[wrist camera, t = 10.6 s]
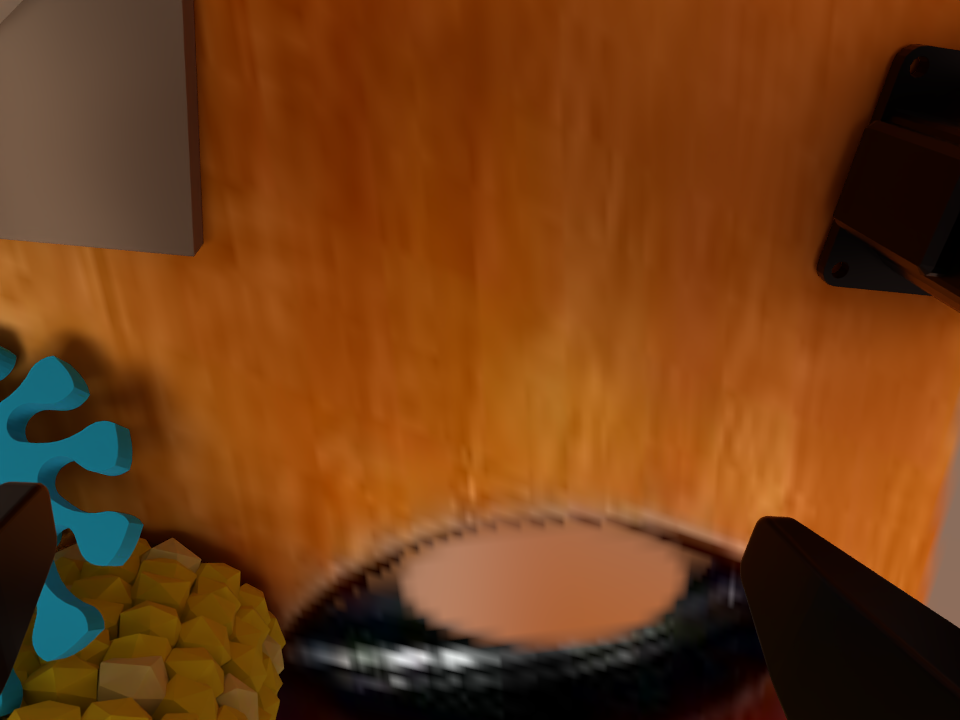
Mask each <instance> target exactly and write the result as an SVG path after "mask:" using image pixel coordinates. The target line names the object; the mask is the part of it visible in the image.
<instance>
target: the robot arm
mask: <svg viewBox="0 0 960 720" xmlns="http://www.w3.org/2000/svg"><path fill="white" fill-rule="evenodd" d="M918 57H919V60H920V63H919V67H918V69H917V70H916V72H914V73H913V74H912V75H911V74H910V65H911V64H912V62H913V61H914V60H915V59H916V58H918ZM833 216H834V220H833V223H832V226H831V229H830V231H829V234H828V237H827V239H826V242H825V245H824V247H823V250H822V253H821V255H820V258H819V261H818V263H817V269H816V270H817V274H818V276H819V277H820V278H821V279H822V280H823V281H825V282H826V283H827V284H829V285H832V286H837V287H847V288H858V289H868V290H878V291H888V292H898V293H908V294H918V295H928V296H934V297H935V298H937V299H939V300H940V301H942V302H943V303H945V304H947V305H948V306H950V307H951V308H953V309H955V310H956V311H958V312H959V313H960V51H959V50H953V49H946V48H940V47H933V46H927V45H920V44H913V45H909V46H907V47H905V48H903V49H902V50H901V51H900V52H899V53H898V54H897V55H896V57H895V59H894V60H893V62H892V65H891V68H890V70H889V73H888V76H887V78H886V81H885V84H884V86H883V89H882V92H881V94H880V97H879V100H878V102H877V105H876V108H875V111H874V113H873V116H872V119H871V121H870V124H869V126H868V127H867V128H866V129H865V130H864V133H863V136H862V138H861V141H860V144H859V146H858V149H857V152H856V154H855V157H854V160H853V162H852V165H851V168H850V171H849V173H848V176H847V179H846V181H845V184H844V187H843V189H842V192H841V195H840V197H839V200H838V203H837V206H836V208H835V211H834V214H833ZM839 262H842V264H841V267H840V269H839V270H838V271H836V272H835V273H832V269H833V267H834V266H835V265H836V264H837V263H839ZM56 547H57V534H56V528H55V522H54V516H53V511H52V505H51V499H50V494H49V491H48V489H47V487H46V486H45V485H43V484H41V483H32V482H6V483H3V484H1V485H0V695H1V693H2V691H3V689H4V687H5V685H6V683H7V680H8V678H9V676H10V674H11V671H12V669H13V666H14V664H15V661H16V659H17V656H18V654H19V651H20V648H21V645H22V643H23V640H24V637H25V635H26V632H27V629H28V627H29V624H30V621H31V619H32V616H33V613H34V610H35V608H36V605H37V602H38V600H39V597H40V594H41V592H42V589H43V586H44V584H45V581H46V578H47V575H48V573H49V570H50V567H51V565H52V562H53V559H54V556H55V552H56ZM740 575H741V580H742V584H743V587H744V591H745V594H746V597H747V601H748V604H749V607H750V611H751V614H752V617H753V621H754V624H755V627H756V631H757V634H758V638H759V641H760V644H761V648H762V651H763V654H764V658H765V661H766V664H767V668H768V671H769V674H770V677H771V680H772V683H773V685H774V688H775V690H776V693H777V696H778V698H779V701H780V703H781V706H782V708H783V711H784V713H785V716H786V718H787V720H960V628H958V627H957V626H955V625H954V624H952V623H951V622H949V621H948V620H946V619H944V618H943V617H942V616H940V615H939V614H937V613H936V612H934V611H933V610H931V609H930V608H928V607H926V606H925V605H923V604H922V603H920V602H919V601H917V600H916V599H914V598H913V597H911V596H910V595H908V594H907V593H905V592H904V591H902V590H901V589H899V588H898V587H896V586H895V585H893V584H892V583H890V582H889V581H887V580H886V579H884V578H883V577H881V576H880V575H878V574H877V573H875V572H874V571H872V570H871V569H869V568H868V567H866V566H865V565H863V564H861V563H860V562H858V561H857V560H855V559H854V558H852V557H851V556H849V555H848V554H846V553H845V552H843V551H842V550H840V549H839V548H837V547H836V546H834V545H833V544H831V543H830V542H828V541H827V540H825V539H824V538H822V537H821V536H819V535H818V534H816V533H815V532H813V531H812V530H810V529H809V528H807V527H806V526H804V525H803V524H801V523H799V522H798V521H796V520H795V519H793V518H790V517H776V516H765V517H762V518H760V519H759V520H758V521H757V523H756V525H755V527H754V530H753V532H752V535H751V537H750V540H749V542H748V545H747V547H746V550H745V552H744V555H743V557H742V560H741V565H740Z"/></svg>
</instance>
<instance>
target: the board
mask: <svg viewBox="0 0 960 720" xmlns="http://www.w3.org/2000/svg"><path fill="white" fill-rule="evenodd" d="M0 239H9V240H20V241H31V242H42V243H53V244H64V245H74V246H85V247H96V248H107V249H118V250H129V251H139V252H150V253H161V254H172V255H183V256H195V254H196V253H197V252H198V250H199V249H200V247H201V246H202V244H203V225H202V200H201V175H200V151H199V126H198V101H197V76H196V52H195V27H194V2H193V0H23V1H22V2H21V3H20V4H19V5H18V6H17V7H16V8H15V9H14V10H13V11H12V12H11V13H10V14H9V15H8V16H7V17H6V18H5V19H4V20H3V21H2V22H1V23H0Z"/></svg>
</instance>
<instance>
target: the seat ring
mask: <svg viewBox="0 0 960 720" xmlns="http://www.w3.org/2000/svg"><path fill="white" fill-rule="evenodd" d="M22 1H23V0H0V23H1V22H2V21H3V20H4V19H5V18H6V17H7V16H8V15H9V14H10V13H11V12H12V11H13V10H14V9H15V8H16V7H17V6H18V5H19V4H20V3H21V2H22Z"/></svg>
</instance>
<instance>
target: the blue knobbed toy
mask: <svg viewBox="0 0 960 720" xmlns="http://www.w3.org/2000/svg"><path fill="white" fill-rule="evenodd" d="M15 363H16V355H15V354H13V353H12V352H11V351H9V350H7V349H5V348H3V347H1V346H0V380H2V379H4V378H5V377H6V376H8V375H9V373H10V372H11V371H12V369H13V368H14V366H15ZM89 395H90V393H89V389H88V386H87V384H86V383H85V381H84V379H83V378H82V377H81V375H80V374H79V373H78V372H77V371H76V370H75V369H74V368H73V367H72V366H71V365H70V364H68V363H67V362H65V361H63V360H61V359H59V358H57V357H55V356H50V357H46V358H44V359H41V360H40V361H39V362H37V363H36V364H35V365H34V366H33V367H32V368H31V370H30V372H29V373H28V375H27V377H26V378H25V380H24V381H23V382H22V384H21V385H20V386H19V387H18V388H17V389H16V390H15V391H14V392H13V393H12V394H11V395H10V396H9V397H7V398H6V399H4V400H3V401H2V402H0V485H1V484H3V483H6V482H32V483H41V484H43V485H45V486H46V487H47V489H48V491H49V494H50V499H51V505H52V511H53V516H54V522H55V528H56V534H57V546H58V545H59V543H60V541H61V538H62V531H63V530H65V529H67V528H70V529H71V530H72V532H73V533H74V535H75V538H76V541H77V544H78V547H79V550H80V552H81V554H82V556H83V557H84V558H85V560H87V561H88V562H89V563H91V564H94V565H99V566H123V565H124V563H125V562H126V561H127V560H128V559H129V557H130V556H131V554H132V552H133V551H134V549H135V547H136V544H137V542H138V540H139V537H140V534H141V531H142V528H143V523H142V522H141V521H140V520H139V519H138V518H136V517H135V516H133V515H130V514H125V513H119V512H112V511H105V512H99V513H87V512H85V511H82V510H80V509H78V508H77V507H75V506H73V505H72V504H70V503H69V502H68V501H66V500H65V499H64V498H63V497H61V496H60V495H59V494H58V492H57V490H56V486H55V480H56V476H57V474H58V472H59V471H60V470H61V468H62V467H63V466H65V465H66V464H68V463H70V462H73V461H75V462H76V463H78V464H79V465H80V466H82V467H83V468H85V469H87V470H89V471H93V472H97V473H100V474H104V475H108V476H117V475H121V474H123V473H125V472H127V471H128V470H130V467H131V463H132V441H131V436H130V431H129V429H127V428H125V427H122V426H120V425H118V424H115V423H113V422H109V421H100V422H95V423H93V424H91V425H89V426H87V427H86V428H85V429H83V430H82V431H80V432H79V433H77V434H75V435H73V436H71V437H69V438H66V439H63V440H60V441H56V442H50V443H29V442H28V440H27V438H26V435H25V429H26V425H27V423H28V421H29V420H30V418H31V417H32V416H33V415H35V414H36V413H38V412H40V411H43V410H59V411H68V410H72V409H75V408H77V407H79V406H80V405H82V404H83V403H84V402H85V401H86V400H87V399H88V397H89ZM104 629H105V625H104V619H103V617H102V614H101V613H100V612H99V610H98V609H96V608H95V607H94V606H92V605H89V604H87V603H85V602H83V601H81V600H80V599H78V598H77V597H75V596H74V595H73V594H72V593H71V592H70V591H69V590H68V589H67V588H66V586H65V585H64V583H63V582H62V580H61V578H60V576H59V573H58V571H57V568H56V565H55V562H54V559H53V562H52V565H51V567H50V570H49V573H48V575H47V578H46V581H45V584H44V586H43V589H42V592H41V594H40V597H39V600H38V602H37V616H36V620H35V624H34V629H33V635H32V642H33V647H34V650H35V651H36V653H37V655H38V656H39V657H40V658H42V659H43V660H45V661H47V662H48V661H53V660H58V659H63V658H67V657H69V656H72V655H74V654H76V653H77V652H79V651H80V650H82V649H83V648H85V647H86V646H87V645H88V644H89V643H91V642H92V641H93V640H94V639H95V638H96V637H97V636H98V635H99V634H100V633H101V632H102V631H103V630H104ZM22 698H23V688H22V685H21V682H20V680H19V678H18V677H17V675H16V673H15V671H14V668H13V669H12V671H11V674H10V676H9V678H8V680H7V683H6V685H5V687H4V689H3V691H2V693H1V695H0V717H1V716H5V715H8V714H10V713H12V712H13V711H14V710H15V709H18V708H20V706H21V703H22Z"/></svg>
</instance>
